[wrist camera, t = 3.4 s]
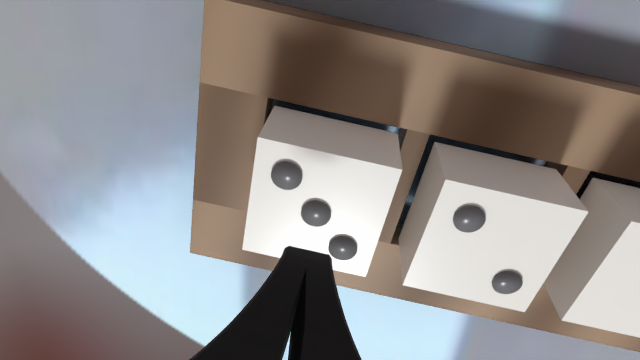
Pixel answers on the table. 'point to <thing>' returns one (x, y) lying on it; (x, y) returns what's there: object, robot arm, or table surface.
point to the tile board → (396, 110)
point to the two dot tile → (486, 227)
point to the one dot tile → (602, 262)
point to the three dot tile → (321, 188)
